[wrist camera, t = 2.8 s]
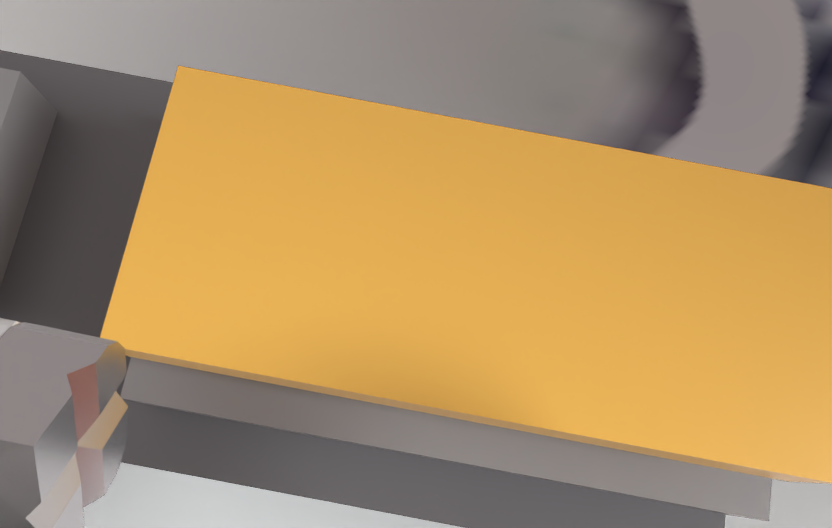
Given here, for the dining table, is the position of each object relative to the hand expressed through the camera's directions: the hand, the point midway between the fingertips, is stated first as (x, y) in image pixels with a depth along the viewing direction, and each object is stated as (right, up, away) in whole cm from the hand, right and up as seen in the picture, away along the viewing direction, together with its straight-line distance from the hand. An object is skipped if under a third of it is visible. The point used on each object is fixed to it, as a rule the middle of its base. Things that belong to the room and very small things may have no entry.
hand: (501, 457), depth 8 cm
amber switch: (0, +2, +6) cm, 7 cm away
